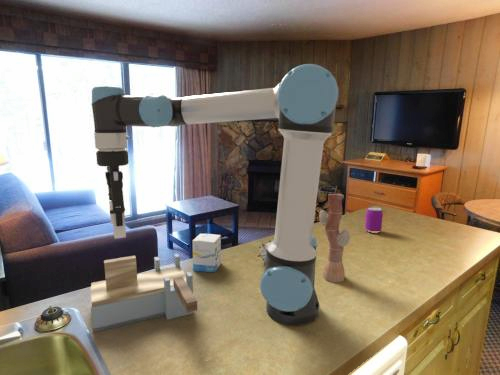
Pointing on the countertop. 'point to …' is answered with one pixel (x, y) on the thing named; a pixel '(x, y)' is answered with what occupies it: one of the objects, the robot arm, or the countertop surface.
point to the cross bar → (185, 294)
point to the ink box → (206, 252)
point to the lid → (129, 281)
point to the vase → (334, 238)
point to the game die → (263, 251)
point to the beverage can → (374, 219)
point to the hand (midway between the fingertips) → (118, 230)
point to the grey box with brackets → (142, 304)
